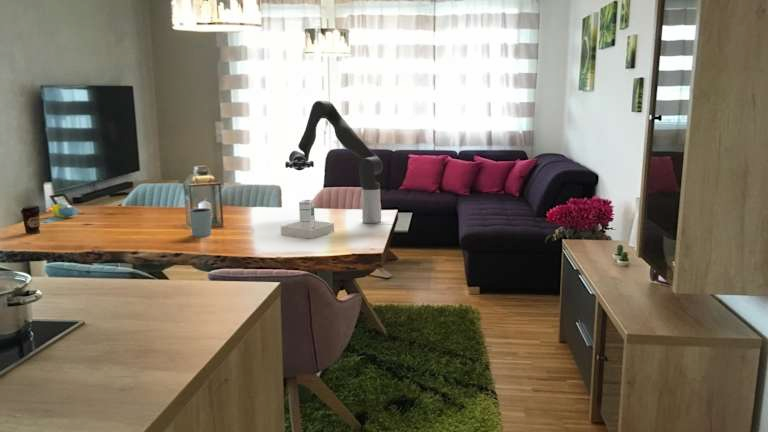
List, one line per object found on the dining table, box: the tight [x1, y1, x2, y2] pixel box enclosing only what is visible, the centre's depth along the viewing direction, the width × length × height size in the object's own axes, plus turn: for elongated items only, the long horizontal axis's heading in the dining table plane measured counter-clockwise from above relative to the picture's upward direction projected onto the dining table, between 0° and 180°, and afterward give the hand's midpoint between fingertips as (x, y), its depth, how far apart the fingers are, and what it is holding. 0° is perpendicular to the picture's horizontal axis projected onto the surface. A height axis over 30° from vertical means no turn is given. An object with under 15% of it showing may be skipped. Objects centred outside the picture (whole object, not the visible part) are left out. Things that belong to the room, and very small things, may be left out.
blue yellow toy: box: [40, 202, 82, 224], centre depth 352 cm, size 28×9×15 cm
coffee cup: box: [20, 205, 41, 235], centre depth 314 cm, size 9×8×13 cm
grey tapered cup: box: [188, 207, 212, 238], centre depth 306 cm, size 10×10×12 cm
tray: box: [280, 220, 335, 239], centre depth 309 cm, size 18×18×4 cm
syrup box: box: [298, 199, 316, 230], centre depth 308 cm, size 6×6×14 cm
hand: (299, 165), depth 321 cm, fingers open, 8 cm apart
